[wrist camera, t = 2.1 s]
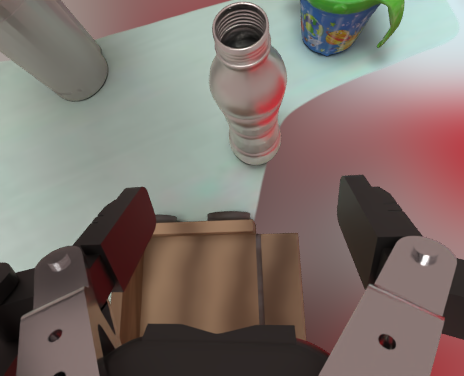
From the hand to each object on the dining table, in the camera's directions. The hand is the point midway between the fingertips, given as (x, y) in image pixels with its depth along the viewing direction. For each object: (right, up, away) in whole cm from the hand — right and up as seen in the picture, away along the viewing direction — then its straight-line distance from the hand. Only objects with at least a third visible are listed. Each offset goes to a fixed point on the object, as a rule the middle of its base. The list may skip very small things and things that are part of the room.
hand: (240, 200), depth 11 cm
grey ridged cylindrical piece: (+3, +6, +25) cm, 26 cm away
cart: (-2, -12, +21) cm, 24 cm away
